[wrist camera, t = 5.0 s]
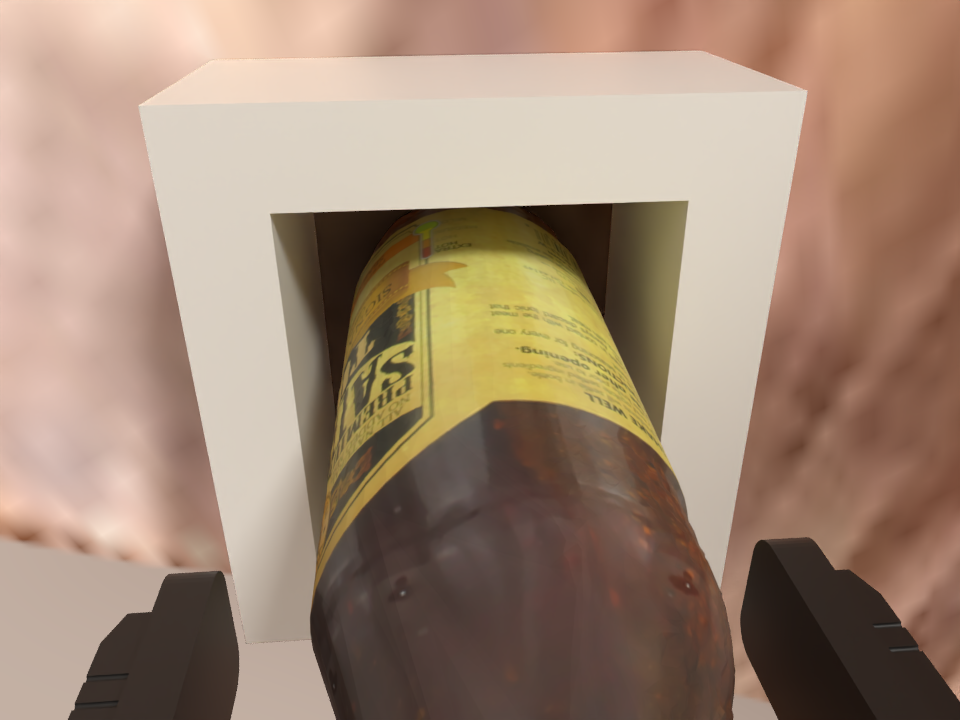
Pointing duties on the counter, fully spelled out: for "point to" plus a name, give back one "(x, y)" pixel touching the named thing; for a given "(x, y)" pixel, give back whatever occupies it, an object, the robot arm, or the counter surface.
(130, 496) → the counter surface
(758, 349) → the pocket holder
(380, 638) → the sauce bottle
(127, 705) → the robot arm
